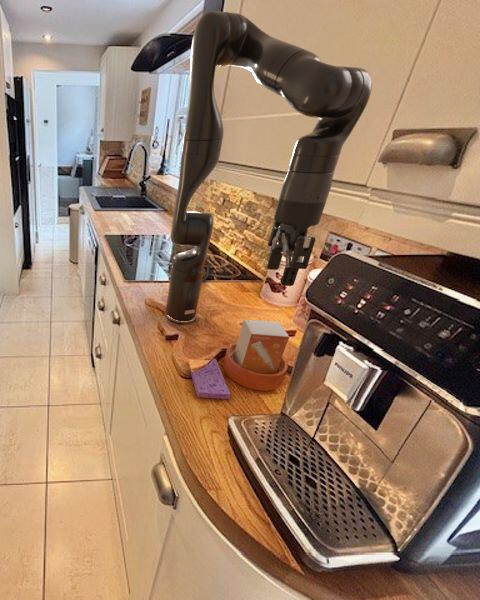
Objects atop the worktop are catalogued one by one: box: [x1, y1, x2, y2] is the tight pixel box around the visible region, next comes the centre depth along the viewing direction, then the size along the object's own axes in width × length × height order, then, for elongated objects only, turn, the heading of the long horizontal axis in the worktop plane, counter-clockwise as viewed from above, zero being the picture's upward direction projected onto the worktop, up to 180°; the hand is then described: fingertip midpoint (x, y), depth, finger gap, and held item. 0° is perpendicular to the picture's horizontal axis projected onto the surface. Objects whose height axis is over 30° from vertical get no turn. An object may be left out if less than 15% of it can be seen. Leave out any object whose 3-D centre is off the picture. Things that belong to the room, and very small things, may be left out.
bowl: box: [222, 341, 289, 392], centre depth 79 cm, size 13×13×5 cm
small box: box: [233, 319, 290, 375], centre depth 77 cm, size 8×6×13 cm
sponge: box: [189, 358, 231, 400], centre depth 78 cm, size 7×13×2 cm, turn 174°
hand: (279, 276), depth 68 cm, fingers open, 8 cm apart
